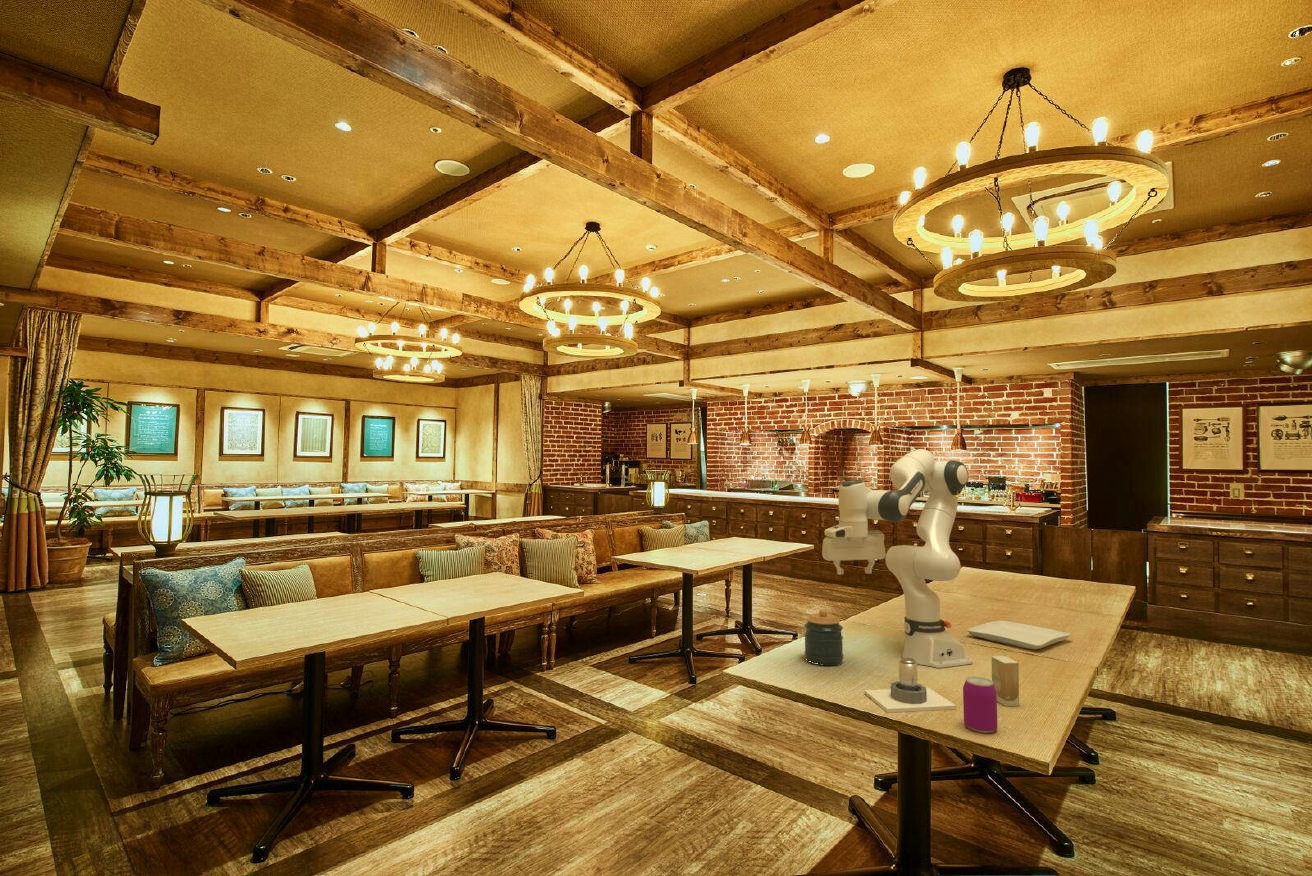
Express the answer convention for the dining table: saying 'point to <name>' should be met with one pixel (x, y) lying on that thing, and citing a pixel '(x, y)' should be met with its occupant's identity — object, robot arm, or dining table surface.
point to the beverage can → (980, 704)
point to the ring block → (909, 699)
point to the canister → (823, 639)
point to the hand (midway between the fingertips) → (854, 573)
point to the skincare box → (1006, 680)
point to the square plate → (1018, 634)
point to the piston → (908, 674)
